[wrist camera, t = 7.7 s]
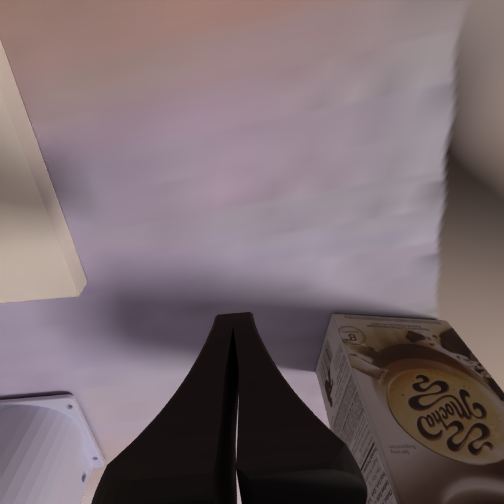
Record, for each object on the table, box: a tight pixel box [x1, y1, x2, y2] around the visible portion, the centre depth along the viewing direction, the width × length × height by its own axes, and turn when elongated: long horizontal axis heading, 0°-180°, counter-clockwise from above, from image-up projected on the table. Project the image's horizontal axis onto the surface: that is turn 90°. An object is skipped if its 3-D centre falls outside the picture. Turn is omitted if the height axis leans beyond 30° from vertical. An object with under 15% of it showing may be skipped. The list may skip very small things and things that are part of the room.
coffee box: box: [316, 314, 504, 504], centre depth 20 cm, size 9×6×16 cm
